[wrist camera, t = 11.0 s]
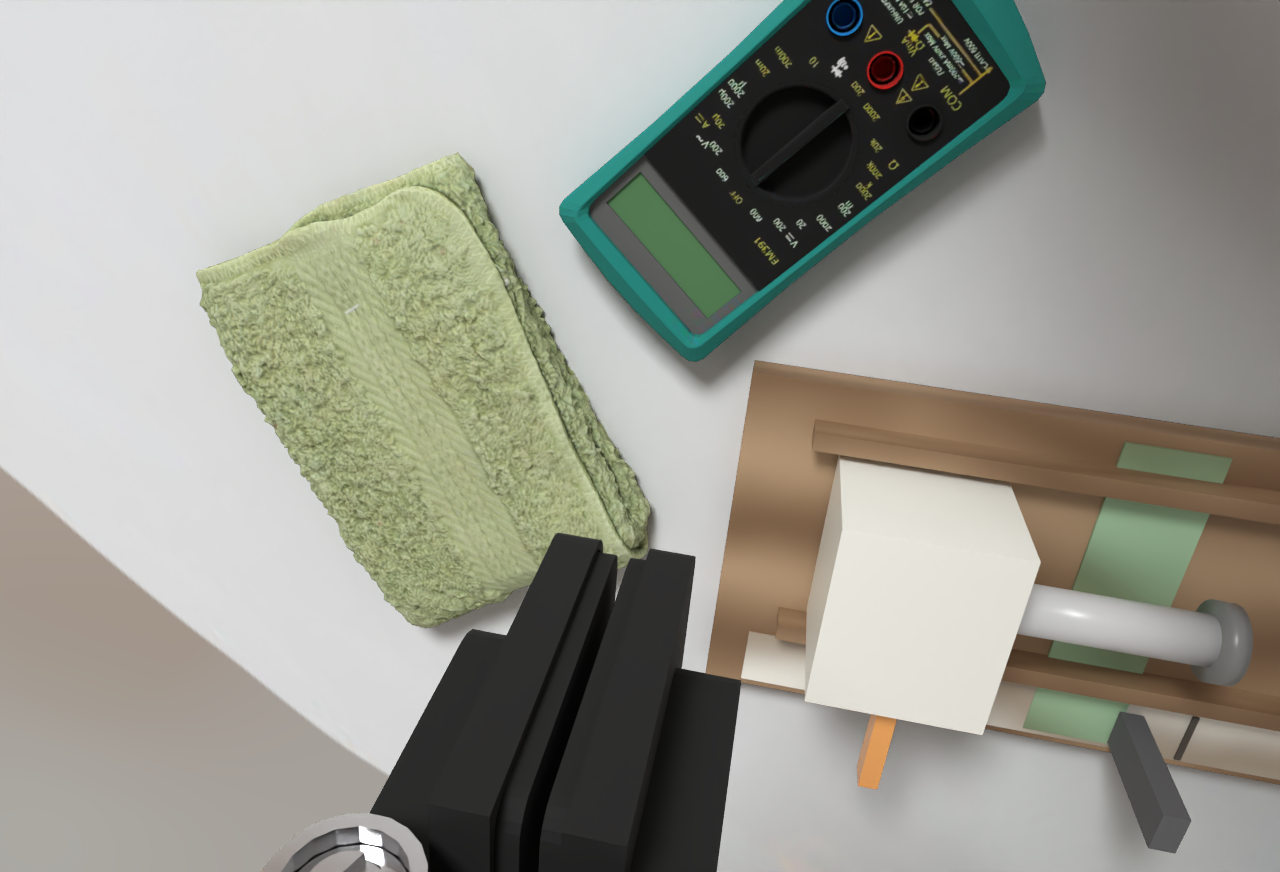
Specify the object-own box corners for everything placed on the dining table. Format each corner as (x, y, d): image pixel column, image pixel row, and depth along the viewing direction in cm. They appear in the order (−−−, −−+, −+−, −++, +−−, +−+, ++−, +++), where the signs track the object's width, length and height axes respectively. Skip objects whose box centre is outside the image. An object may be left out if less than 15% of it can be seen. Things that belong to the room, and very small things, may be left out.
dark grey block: (1119, 711, 36) (1163, 815, 32) (1143, 715, 36) (1191, 821, 32) (1107, 741, 37) (1148, 848, 32) (1130, 746, 37) (1175, 853, 32)
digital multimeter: (1051, 71, 29) (1074, 78, 27) (696, 349, 35) (685, 377, 33) (912, -127, 28) (922, -140, 25) (565, 199, 34) (543, 216, 31)
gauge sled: (839, 452, 34) (842, 528, 29) (1235, 515, 32) (1310, 607, 27) (789, 687, 39) (785, 787, 34) (1132, 752, 37) (1179, 867, 32)
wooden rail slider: (754, 360, 34) (737, 457, 27) (1649, 493, 31) (1907, 646, 24) (708, 657, 41) (683, 802, 33) (1450, 796, 37) (1604, 992, 30)
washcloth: (469, 128, 33) (435, 141, 30) (674, 531, 39) (663, 573, 36) (201, 269, 37) (149, 292, 35) (421, 613, 43) (392, 657, 40)
